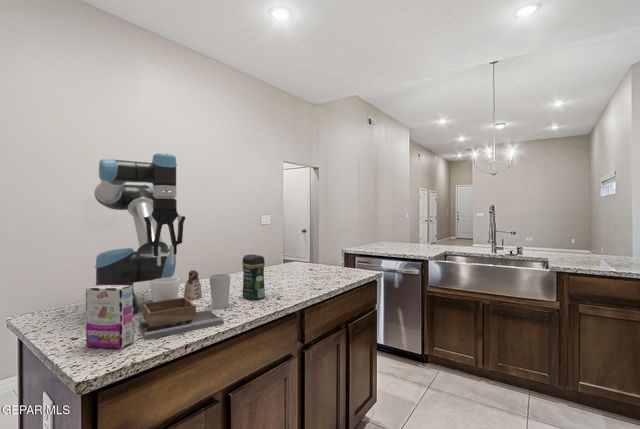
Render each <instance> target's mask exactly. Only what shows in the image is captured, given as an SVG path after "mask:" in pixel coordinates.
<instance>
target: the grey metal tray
mask: <svg viewBox="0 0 640 429" xmlns="http://www.w3.org/2000/svg"><path fill="white" fill-rule="evenodd" d="M223 318H224V317H222V316H219V317H218V315H216V314H215V313H213V308H209V309H204V310H198V311H196V319H193V320H192V322H190V323H186V322H185V321H181V322H176V323H170V324H165V325H161V327H160V328H159V329H157V330H156V329H153V327H149V326H148V324H147V323H146V321H145V320H141V321H139V323H138V327H139V330H140V332H141V334H142V335H143V338H144V340H145V341H147V340H146V339H148V340H151V338H153V339H157V338H156V337H158V338H161V337H162V336H163V337H167V336H171V335H177V334H181V333H186V332H191V331H195V330H200V329H206V328H209V327H211V328H212V327H216V326H220V325H224V324H225V323H224V319H223Z"/></svg>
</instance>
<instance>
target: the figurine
mask: <svg viewBox="0 0 640 429" xmlns="http://www.w3.org/2000/svg"><path fill="white" fill-rule="evenodd" d="M202 292H203V291H202V285H201V282H200V279H199V272H198V271H197V270H195V269H194V270H193V269H191V270H190V271H189V272H188V280H187V281H186V282H185V285H184V291H183V298H185V297H186V298H187V299H188V300H189V301H191V300H192V301H193V300H194V301H195V300H200V299H201V298H203V297H202V296H203V293H202Z"/></svg>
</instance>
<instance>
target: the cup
mask: <svg viewBox="0 0 640 429" xmlns="http://www.w3.org/2000/svg"><path fill="white" fill-rule="evenodd" d="M208 277H209V286H210V296H211V297H210V298H211V309H217V310H218V309H219V310H220V309H225V308H228V307H229V300H230V299H229V297H230V285H231V283H230V282H231V274H229V273H216V274H211V275H209V276H208Z"/></svg>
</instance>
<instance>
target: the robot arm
mask: <svg viewBox="0 0 640 429" xmlns="http://www.w3.org/2000/svg"><path fill="white" fill-rule="evenodd" d="M177 166H178V165H177V157H176V156H175V155H174V154H170V153H155V154H153V156H152V161H151V162H146V161H145V162H144V161H133V160H125V159H124V160H120V159H114V158H110V159H109V158H105V159H104V158H103V159H100V160H99V163H98V178H99V179H100V183H99V184H97V185H96V186H95V189H94V197H95V200H96V201H97V202H98V203H99V204H100V205H101V206H103V207H105V208H107V209H110V210H117V211H127V212H128V214H130V215H131V216H132V217H133V221H134V226H135V227H134V228H135V231H136V235H137V239H138V240H137V242H138V245H139V246H138V248H137V250H136V251H135V250H134V249H133V248H132V247H125V248H117V249H116V248H115V249H112V250H111V249H110V250H107V251H103V252H101V253H98V254H97V255H96V258H95V286H96V285H133V286H134V284H135V283H142V282H150V281H151V280H155V279H160V278H173V276H174V274H175V272H176V265H177V252H178V251H177V248H178V246H179V245H180V244H182V243H183V238H184V237H183V236H184V235H183V234H184V233H183V232H184V222H185V220H186V216H185V215H184V216H183V215H180V214H179V213H178V211H177V206H178V205H177V203H178V202H177V201H178V200H177V199H176V198H177ZM126 183H139V184H126ZM140 183H143V185H141V184H140ZM146 184H152V185H146ZM176 220H177V221H178V222H177V223H178V224H177V238H176V233H175V226H174V222H175V221H176ZM163 225H167V227H168V232H169V236H170V240H171V241H170V242H171V245H169V246H168V244H167V243H166V242H165V241H163V239H162V235H161V232H162V228H163ZM139 311H140V303H139V301H138V298H137V296H136V293H135V290H134V288H133V315H135V314H136V313H138V312H139Z"/></svg>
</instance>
